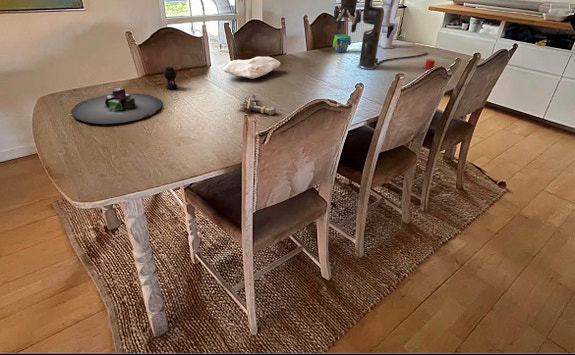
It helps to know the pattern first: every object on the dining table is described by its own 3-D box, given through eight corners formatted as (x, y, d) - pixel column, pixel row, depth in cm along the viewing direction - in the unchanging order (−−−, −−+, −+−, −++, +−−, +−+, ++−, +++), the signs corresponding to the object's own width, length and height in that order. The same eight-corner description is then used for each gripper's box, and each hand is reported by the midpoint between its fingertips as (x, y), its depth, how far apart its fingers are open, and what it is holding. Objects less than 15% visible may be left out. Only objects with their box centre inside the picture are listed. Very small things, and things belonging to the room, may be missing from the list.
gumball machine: (165, 90, 172) (162, 69, 166) (163, 86, 176) (159, 65, 171) (180, 88, 175) (177, 67, 169) (177, 85, 179) (174, 64, 174)
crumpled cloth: (210, 71, 195) (210, 54, 190) (264, 61, 214) (265, 46, 208) (233, 90, 182) (233, 73, 176) (288, 78, 201) (290, 62, 195)
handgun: (275, 94, 165) (242, 93, 164) (275, 109, 150) (239, 108, 149) (275, 100, 167) (242, 99, 166) (275, 115, 152) (239, 114, 151)
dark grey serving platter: (174, 113, 149) (170, 91, 144) (79, 131, 131) (72, 107, 127) (148, 93, 173) (144, 73, 169) (65, 106, 156) (59, 85, 151)
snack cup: (344, 48, 256) (346, 33, 251) (354, 52, 249) (356, 36, 243) (327, 50, 249) (328, 35, 243) (337, 54, 241) (338, 38, 236)
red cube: (423, 68, 222) (424, 60, 219) (427, 66, 225) (429, 58, 222) (430, 69, 219) (432, 61, 216) (434, 68, 222) (436, 60, 219)
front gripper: (367, -5, 167) (362, 32, 176) (342, -9, 176) (338, 27, 184) (357, -4, 163) (353, 34, 172) (332, -8, 171) (329, 29, 180)
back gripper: (378, 17, 236) (375, 39, 243) (398, 17, 239) (394, 39, 246) (374, 15, 242) (370, 37, 249) (394, 15, 244) (390, 36, 252)
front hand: (345, 30), depth 178 cm, fingers open, 8 cm apart
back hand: (382, 37), depth 248 cm, fingers open, 7 cm apart
